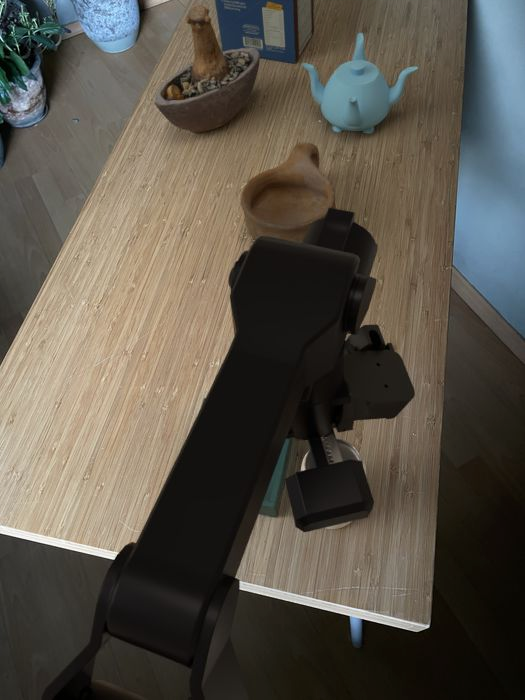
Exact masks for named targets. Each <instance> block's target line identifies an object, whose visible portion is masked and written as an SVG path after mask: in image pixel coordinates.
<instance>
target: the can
mask: <svg viewBox="0 0 525 700" xmlns="http://www.w3.org/2000/svg"><path fill="white" fill-rule="evenodd" d="M336 439H337V443H338V446H339V449H340V453H341V456H342V459H343V461H346V460H350V459H351V460H359V461H362V465H363V468H364V471H365V474H366V475H367V467H366V463H365V460H364V458H363V456H362V455H361V453H360V452H359V450H358V449H357V447H355V446H354V445H353V444H352V443H350V441H347V440H344V439H342V438H337V437H336ZM321 440H322V443H323V447H324V450H325V454H326V457H327V461H328V464H331V463H332V462H330V461H329V459H330V458H332V457H328V454H330V453H327V449H329V448H326V447H325V445H327V444H324V441H325V440H326V439H321ZM300 466H301V468H300V471H304V470H308V469H312V468H315V466H314V462H313V459H312V455H311V451H310V449H309V450H308V451H307V452H306V454H305V455H304V457H303V459H302V462H301V465H300ZM352 522H353V521H350V522H346V523H342V524H338V525H334V526H330V527H325V528H324V529H327V530H339V529H341V528H344V527H347V526H348V525H350V524H351V523H352Z"/></svg>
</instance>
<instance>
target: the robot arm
mask: <svg viewBox="0 0 525 700" xmlns="http://www.w3.org/2000/svg"><path fill="white" fill-rule="evenodd" d="M355 216H356V215H355V211H350V210H345V209H340V208H336V209H335V208H328V211H327V214H326V216H325V218H322V219H319V220H317V221H315V222H313V223H312V224H311V225H310V226H308V228H307V230H306V232H305V235H304V237H303V240H302V243H299V242H294V241H289V240H284V239H279V238H274V237H269V236H266V237H265V236H260V237H259V238H257V239H256V240H255V239H254V241H253V242H252V243H251V245H250V247H249V249H248V250H244V251H243V252H242V253H241V254H240V256H239V257H238V259H237V260H236V261H235V262H234V264H233V267H232V268H231V270H230V272H229V275H228V281H227V283H228V287H229V288H230V293H229V302H230V303H229V304H230V311H231V318H232V319H231V320H232V326H233V327H232V328H233V335H234V336H233V339H232V341H231V343H230V346H229V348H228V350H227V353H226V355H225V357H224V359H223V361H222V362H221V365H220V367H219V370H218V371H217V374H216V376H215V378H214V380H213V382H212V384H211V386H210V388H209V391H208V393H207V394H206V396H205V397H204V398H205V401H204V403H203V402H202V403H203V405H202V404H201V406H202V407H201V406H200V409H199V410H198V413H197V415H196V417H195V419H194V421H193V423H192V426H191V428H190V430H189V432H188V434H187V436H186V438H185V440H184V442H183V444H182V445H181V448H180V450H179V453H178V454H177V457H176V459H175V461H174V463H173V465H172V467H171V469H170V471H169V473H168V475H167V478H166V480H165V481H164V484H163V486H162V487H161V490H160V492H159V494H158V497H157V498H156V500H155V502H154V505H153V506H152V509H151V510H150V513H149V515H148V517H147V519H146V521H145V523H144V525H143V527H142V528H141V529H142V530H141V532H140V534H139V536H138V538H137V540H136V541H135V542H134V541H131V542H129V543H127V544H125V545H124V546H123V547H122V548H121V550H120V551H119V552H118V553H116V555H115V557H114V559H113V561H112V562H111V564H110V566H109V567H108V568H107V571H106V574H105V577H104V578H103V580H102V584H101V586H100V589H99V593H98V597H97V600H96V604H95V605H96V606H95V610H94V614H93V616H94V617H93V620H92V626H91V633H90V637H89V638H90V639H89V642H88V643H87V644H86V645H85V646H84V647H83V648H82V649H81V650H80V651H79V653H78V654H77V655H76V656H75V657H74V658H73V659H72V660H71V661H69V663H68V664H67V665H66V666H65V667H64V668H63V669H62V670H61V671H60V672H59V674H58V675H57V676H56V677H55V678H54V679H52V681H51V682H50V683H49V684H48V685H47V686H46V687H45V688H44V691H43V693H42V694H41V698H40V700H150V699H148V698H146V697H144V696H142V695H139V694H136V693H135V692H132V691H130V690H127V689H125V688H122V687H120V686H118V685H115V684H113V683H110V682H108V681H105V680H103V679H100V678H99V679H95V680H93V675H94V670H95V664H96V658H97V654H98V653H99V652H100V650H102V648H103V647H104V646H106V644H107V643H108V642H109V641H110V640H111V638H112V639H113V640H115V641H118V642H121V643H123V644H125V645H128V646H131V647H133V648H136V649H138V650H140V651H144V652H146V653H148V654H151V655H154V656H156V657H158V658H161V659H164V660H166V661H169V662H171V663H173V664H176V665H178V666H181V667H184V668H187V669H189V670H191V672H190V676H189V681H188V683H189V694H190V696H188V698H187V700H250V697H249V694H248V690H247V687H246V684H245V681H244V677H243V673H242V672H241V668H240V665H239V664H240V663H239V660H238V658H237V655H236V652H235V649H234V646H233V641H232V639H231V632H232V627H233V623H234V619H235V614H236V609H237V606H238V605H237V604H238V600H239V594H240V589H241V587H240V585H241V584H240V583H241V582H240V581H241V580H240V579H239V578H237V574H238V571H239V569H240V566H241V563H242V560H243V557H244V555H245V553H246V550H247V546H248V544H249V542H250V538H251V536H252V533H253V531H254V527H255V525H256V522H257V519H258V516H259V515H260V514H259V511H260V509H261V506H262V503H263V500H264V498H265V495H266V492H267V489H268V487H269V484H270V481H271V478H272V476H273V473H274V470H275V468H276V465H277V462H278V459H279V457H280V454H281V451H282V448H283V446H284V443H285V440H286V439H289V438H294V440H298V441H307V445H308V447H309V450H310V451H311V455H312V459H313V462H314V466H315V468H312V469H308V470H304V471H301V470H299V471H295V472H293V473H292V474H290V475H289V476H287V477H285V481H284V485H285V488H286V493H287V497H288V501H289V505H290V510H291V513H292V518H293V522H294V526H295V528H296V529H298V530H300V531H301V532H302V533H308V532H312V531H317V530H321V529H326V528H325V527H330V526H334V525H338V524H342V523H346V522H350V521H352V522H354V521H358V520H362V519H366V518H369V516H370V514H371V513H372V511H373V508H374V505H375V499H374V495H373V493H372V490H371V486H370V484H369V481H368V477H367V473H366V474H365V471H364V468H363V465H362V461H359V460H351V459H350V460H346V461H343V459H342V456H341V453H340V449H339V446H338V443H337V439H338V438H337V437H336V433H338V434H339V433H344V432H348V431H353V430H354V424H355V422H356V421H369V420H381V419H386V420H392V419H395V418H396V417H397V416H398V415H399V414H401V412H402V411H403V410H404V409H405V408H406V407H407V406H408V405H409V404H410V402H411V401H412V400H413V399H414V398H415V396H416V389H415V388H414V385H413V382H412V380H411V378H410V374H409V372H408V370H407V368H406V365H405V363H404V360H403V357H402V356H401V355H400V354H399V353H398V352H397V351H395V348H394V345H393V342H387V343H386V342H385V339H384V336H383V334H382V331H381V328H380V326H379V325H378V324H363V322H364V320H365V317H366V316H367V314H368V311H369V309H370V305H371V302H372V299H373V296H374V292H375V289H376V285H377V281H378V280H377V279H378V278H375V277H372V276H371V272H372V270H373V267H374V263H375V259H376V257H377V254H378V250H379V249H378V247H379V246H378V243H377V242H376V239H375V237H373V235H372V233H370V232H369V231H368V230H367V229H366V228H365V227H364V226H362V225H360V224H359V223H357V222H355ZM362 324H363V325H362ZM347 335H348V336H347ZM334 429H336V433H335V430H334ZM336 438H337V439H336ZM324 439H326V440H325V441H324V444H327V445H325V447H326V448H329V449H327V453H330V454H328V457H332V458H330V459H329V461H330V462H332V463H331V464H328V461H327V457H326V454H325V450H324V447H323V443H322V440H324Z"/></svg>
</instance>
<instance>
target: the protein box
mask: <svg viewBox="0 0 525 700" xmlns="http://www.w3.org/2000/svg"><path fill="white" fill-rule="evenodd" d="M214 4H215V11H216V18H217V19H216V20H217V25H218V31H219V39H220V45H221V47H220V48H221V50H222V52H224V51H227V50H232V49H233V50H236V49H240V48H252V49H256V50H257V51H258V52H259V54H260V59H263V60H264V59H265V60H272V61H275V62H276V61H277V62H283V63H288V64H296V63H297V62H298V60H299V59H300V57H301V55H302V54H303V52H304V50H305V48H306V47H307V45H308V43H309V42H310V40H311V38H312V36H313V34H314V33H315V18H314V17H315V15H314V14H315V13H314V11H315V10H314V8H315V7H314V0H214Z"/></svg>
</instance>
